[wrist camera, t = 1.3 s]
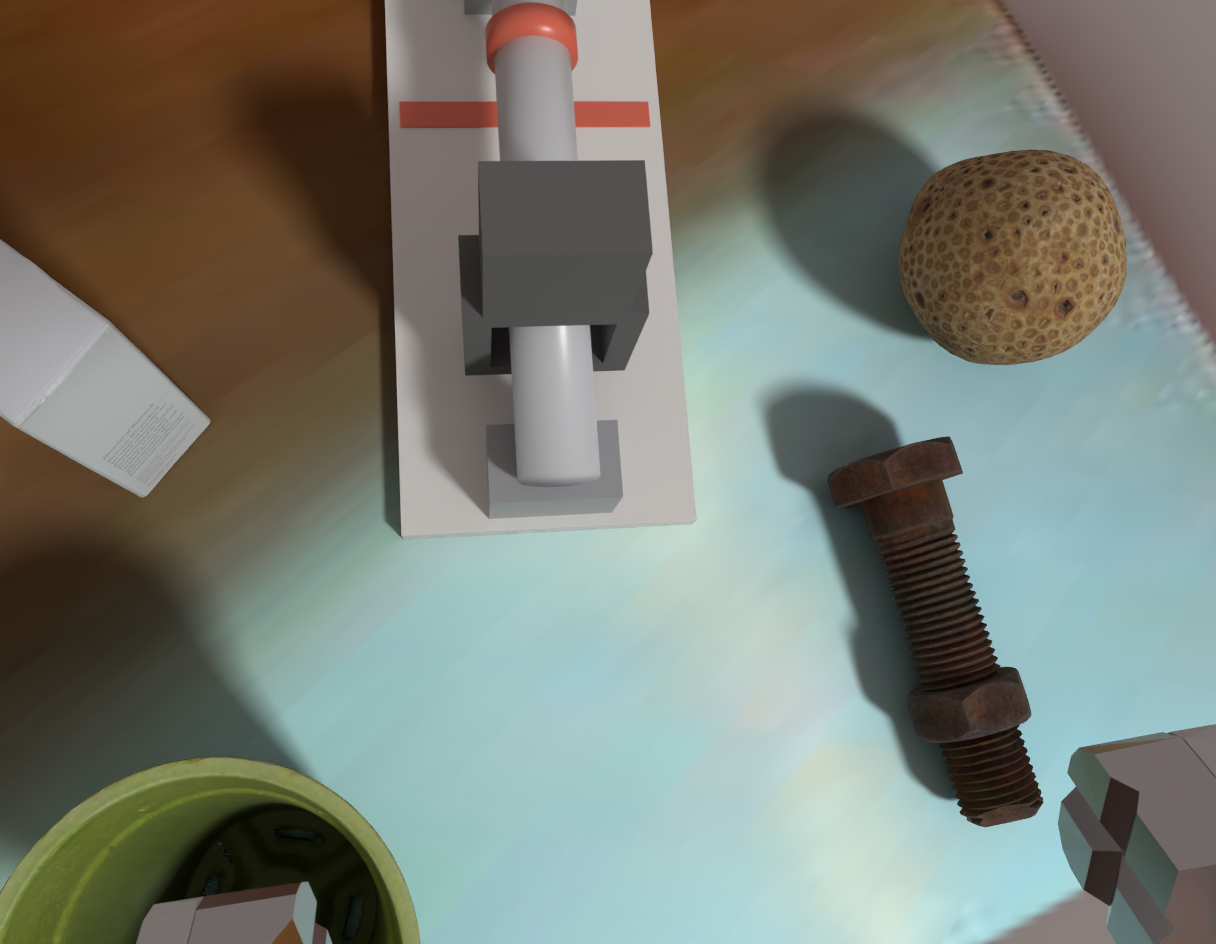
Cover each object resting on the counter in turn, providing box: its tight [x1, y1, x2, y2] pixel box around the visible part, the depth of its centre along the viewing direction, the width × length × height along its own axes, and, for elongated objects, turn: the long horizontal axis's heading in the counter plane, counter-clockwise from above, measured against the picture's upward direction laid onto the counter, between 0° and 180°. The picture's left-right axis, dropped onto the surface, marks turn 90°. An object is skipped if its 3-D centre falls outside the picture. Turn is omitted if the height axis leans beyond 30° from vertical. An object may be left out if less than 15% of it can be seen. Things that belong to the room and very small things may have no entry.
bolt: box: [828, 437, 1043, 827], centre depth 42 cm, size 6×5×15 cm
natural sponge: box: [898, 150, 1127, 365], centre depth 42 cm, size 9×9×10 cm
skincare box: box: [0, 239, 210, 497], centre depth 36 cm, size 6×4×12 cm
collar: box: [458, 160, 653, 376], centre depth 36 cm, size 3×6×11 cm, turn 94°
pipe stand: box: [385, 0, 696, 540], centre depth 42 cm, size 27×12×8 cm, turn 4°
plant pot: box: [0, 757, 420, 944], centre depth 33 cm, size 12×12×11 cm
